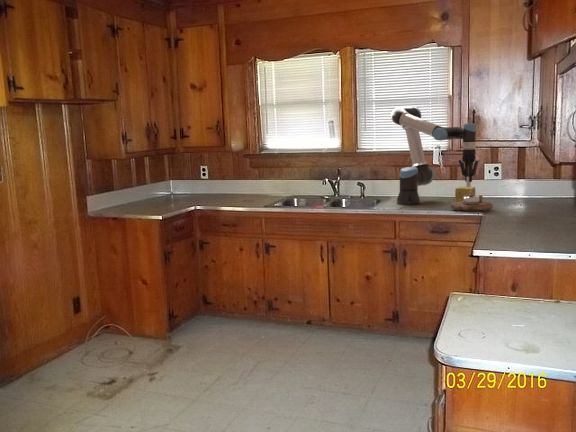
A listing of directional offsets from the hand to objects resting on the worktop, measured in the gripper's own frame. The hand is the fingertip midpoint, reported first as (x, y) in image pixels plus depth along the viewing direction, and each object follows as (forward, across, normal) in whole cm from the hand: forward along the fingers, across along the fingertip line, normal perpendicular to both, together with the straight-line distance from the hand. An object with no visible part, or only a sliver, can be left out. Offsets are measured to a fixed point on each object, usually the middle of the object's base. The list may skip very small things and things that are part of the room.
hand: (468, 186), depth 342 cm
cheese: (+13, -10, +14) cm, 21 cm away
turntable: (+11, +7, -10) cm, 16 cm away
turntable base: (+13, +7, -10) cm, 18 cm away
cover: (+9, +7, -10) cm, 15 cm away
